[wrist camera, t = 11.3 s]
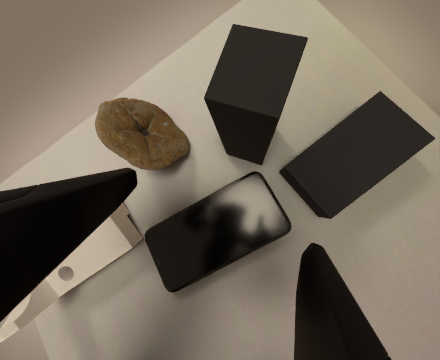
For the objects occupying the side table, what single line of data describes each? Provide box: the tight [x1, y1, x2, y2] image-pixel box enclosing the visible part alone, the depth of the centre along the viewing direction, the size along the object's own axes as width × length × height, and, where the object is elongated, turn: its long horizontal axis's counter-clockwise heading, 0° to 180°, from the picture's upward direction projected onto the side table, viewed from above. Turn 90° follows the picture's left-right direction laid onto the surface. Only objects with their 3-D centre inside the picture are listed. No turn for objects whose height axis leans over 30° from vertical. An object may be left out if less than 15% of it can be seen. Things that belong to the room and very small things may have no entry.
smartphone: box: [145, 172, 291, 292], centre depth 21 cm, size 8×1×16 cm
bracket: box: [0, 203, 143, 342], centre depth 20 cm, size 13×7×8 cm, turn 123°
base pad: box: [279, 91, 435, 219], centre depth 19 cm, size 12×6×3 cm, turn 128°
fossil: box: [95, 98, 189, 170], centre depth 21 cm, size 9×4×10 cm
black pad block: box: [204, 24, 308, 165], centre depth 16 cm, size 5×4×12 cm
